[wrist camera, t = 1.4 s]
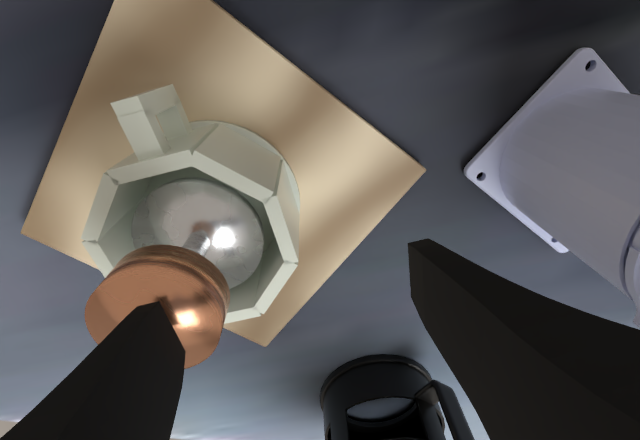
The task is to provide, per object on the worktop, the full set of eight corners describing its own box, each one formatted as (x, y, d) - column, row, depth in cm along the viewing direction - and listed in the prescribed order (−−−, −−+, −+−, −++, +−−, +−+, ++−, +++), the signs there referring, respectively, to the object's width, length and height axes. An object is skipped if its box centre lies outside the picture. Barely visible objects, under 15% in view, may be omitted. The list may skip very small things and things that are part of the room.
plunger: (279, 270, 17) (269, 369, 12) (170, 295, 17) (116, 399, 12) (240, 163, 14) (205, 230, 9) (113, 194, 14) (13, 275, 9)
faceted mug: (316, 250, 20) (320, 308, 16) (177, 281, 21) (144, 345, 17) (261, 59, 16) (244, 67, 11) (82, 107, 16) (-2, 133, 12)
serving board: (420, 164, 19) (426, 170, 18) (266, 336, 25) (265, 347, 24) (147, -51, 14) (137, -57, 13) (33, 224, 20) (20, 232, 19)
